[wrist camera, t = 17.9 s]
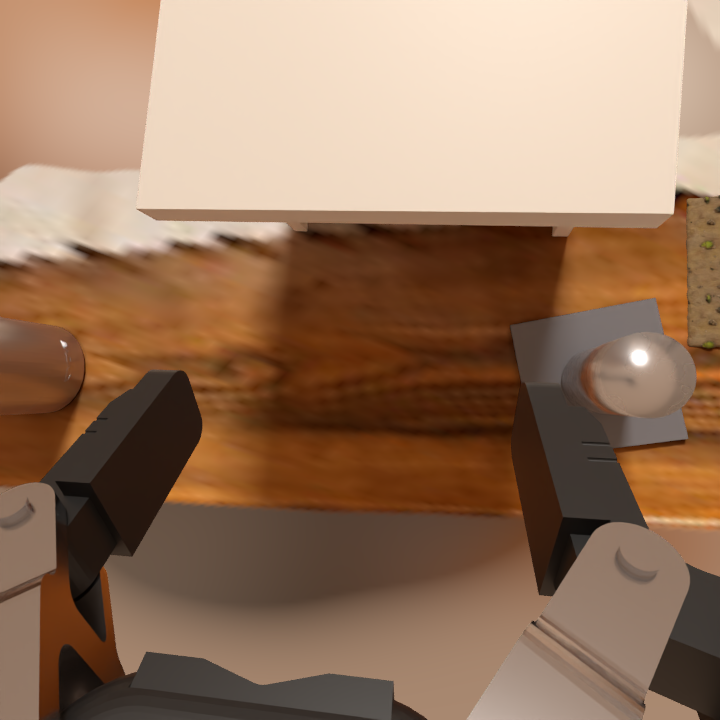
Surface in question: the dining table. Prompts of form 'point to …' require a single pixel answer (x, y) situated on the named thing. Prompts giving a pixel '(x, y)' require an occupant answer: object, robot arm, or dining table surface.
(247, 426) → the dining table surface
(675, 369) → the pale cylinder
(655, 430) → the rubber mat
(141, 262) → the dining table surface
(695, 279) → the cookie
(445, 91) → the white c-shaped side table
